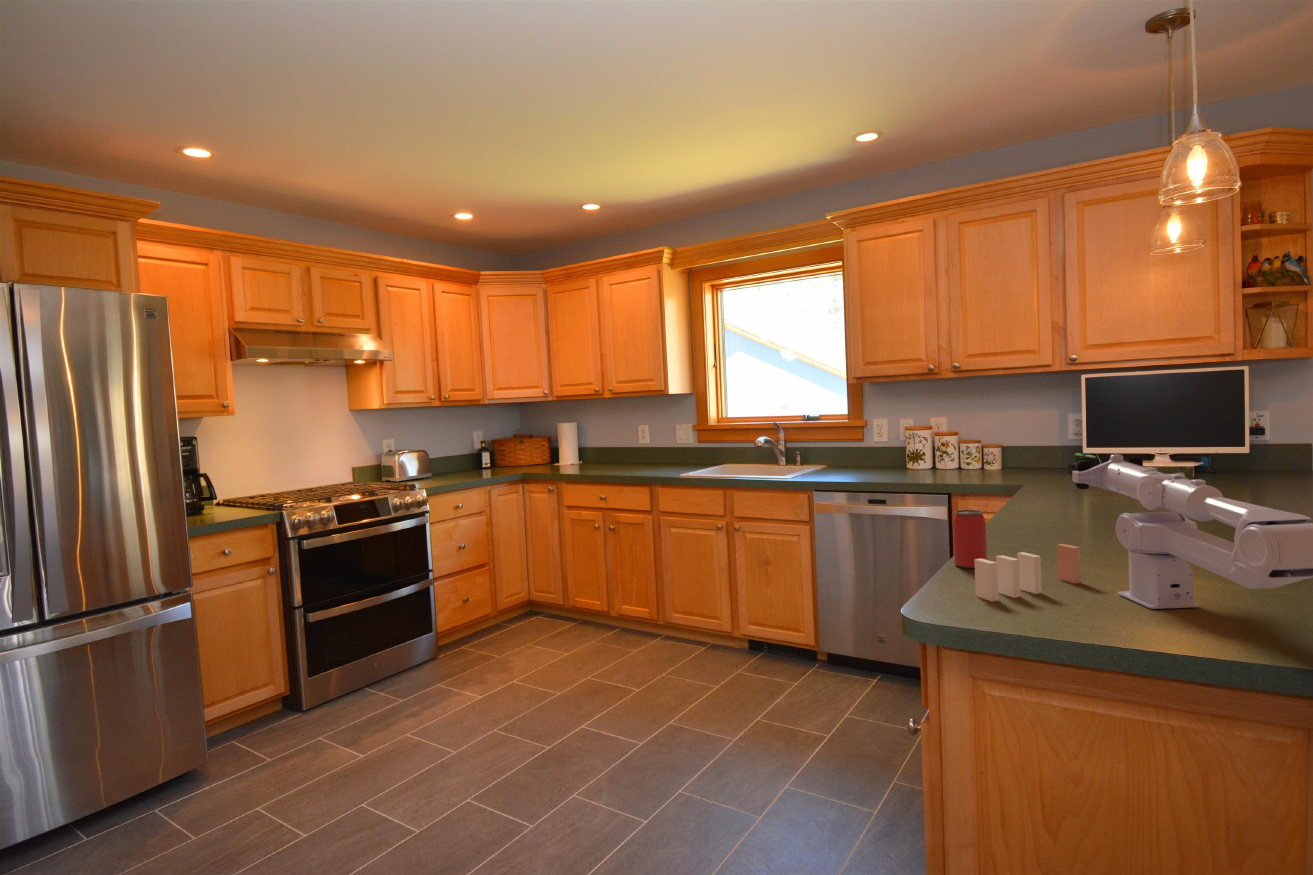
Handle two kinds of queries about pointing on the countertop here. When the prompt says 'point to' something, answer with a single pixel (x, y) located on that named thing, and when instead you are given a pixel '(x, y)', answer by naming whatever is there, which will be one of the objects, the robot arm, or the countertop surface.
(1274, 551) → the robot arm
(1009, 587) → the ivory domino
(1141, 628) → the countertop surface
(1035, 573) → the ivory domino
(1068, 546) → the rust domino
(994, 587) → the ivory domino
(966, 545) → the beer can
